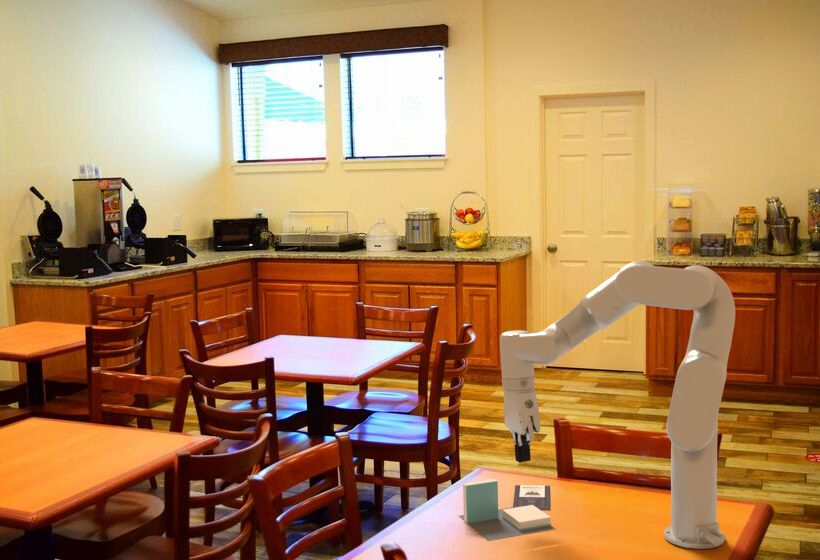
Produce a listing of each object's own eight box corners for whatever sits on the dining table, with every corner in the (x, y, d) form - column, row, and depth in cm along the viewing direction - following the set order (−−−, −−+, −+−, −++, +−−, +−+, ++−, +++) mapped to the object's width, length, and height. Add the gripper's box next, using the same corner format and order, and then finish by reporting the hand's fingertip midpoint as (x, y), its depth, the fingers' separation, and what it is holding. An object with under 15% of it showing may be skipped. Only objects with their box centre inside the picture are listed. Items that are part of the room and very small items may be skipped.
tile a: (532, 512, 212) (551, 525, 203) (502, 517, 209) (519, 530, 200) (532, 504, 211) (550, 517, 203) (502, 509, 209) (519, 522, 200)
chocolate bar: (512, 508, 214) (515, 485, 232) (512, 512, 215) (515, 488, 232) (550, 509, 213) (549, 485, 231) (550, 513, 213) (549, 489, 231)
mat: (556, 530, 201) (556, 528, 201) (488, 542, 195) (488, 540, 195) (522, 507, 217) (522, 505, 217) (458, 517, 211) (458, 515, 211)
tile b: (498, 518, 209) (497, 481, 208) (467, 523, 206) (466, 485, 205) (494, 515, 211) (493, 478, 210) (464, 520, 208) (462, 483, 207)
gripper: (548, 386, 200) (552, 466, 201) (518, 377, 214) (522, 451, 215) (518, 391, 198) (523, 471, 199) (490, 381, 212) (495, 456, 213)
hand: (523, 460), depth 207 cm, fingers closed
